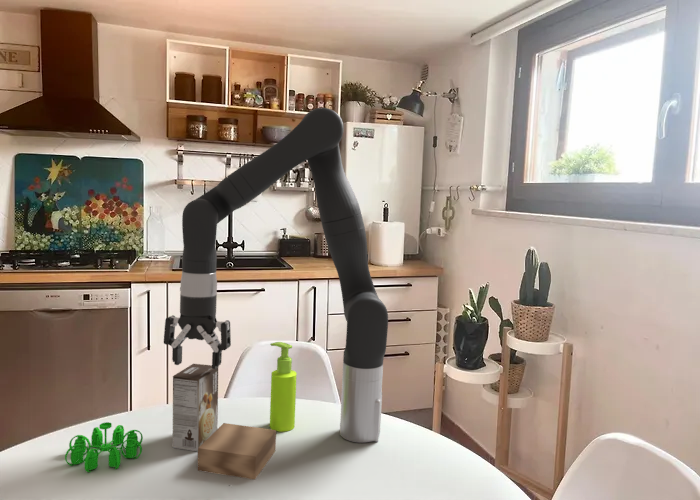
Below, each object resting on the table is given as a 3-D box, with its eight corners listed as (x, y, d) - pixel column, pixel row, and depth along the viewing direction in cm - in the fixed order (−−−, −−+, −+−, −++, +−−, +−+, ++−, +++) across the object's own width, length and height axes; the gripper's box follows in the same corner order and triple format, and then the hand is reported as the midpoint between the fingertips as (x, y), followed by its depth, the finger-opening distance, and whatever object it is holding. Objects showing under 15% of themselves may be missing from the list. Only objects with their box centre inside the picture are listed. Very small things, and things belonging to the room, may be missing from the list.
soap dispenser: (278, 417, 132) (281, 338, 130) (299, 425, 128) (302, 344, 126) (261, 425, 127) (263, 343, 125) (282, 434, 123) (285, 349, 121)
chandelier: (47, 473, 102) (47, 438, 102) (89, 438, 117) (89, 407, 117) (124, 479, 102) (124, 444, 101) (156, 442, 117) (156, 412, 116)
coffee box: (192, 430, 123) (193, 362, 121) (218, 433, 122) (219, 365, 120) (171, 448, 114) (172, 375, 112) (198, 452, 113) (200, 378, 111)
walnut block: (275, 452, 115) (276, 430, 114) (255, 481, 103) (255, 456, 103) (223, 444, 117) (223, 423, 117) (197, 472, 106) (197, 448, 105)
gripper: (236, 292, 117) (234, 364, 119) (175, 286, 119) (173, 357, 121) (223, 298, 110) (221, 374, 111) (158, 292, 112) (157, 368, 113)
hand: (196, 365), depth 116 cm, fingers open, 8 cm apart
